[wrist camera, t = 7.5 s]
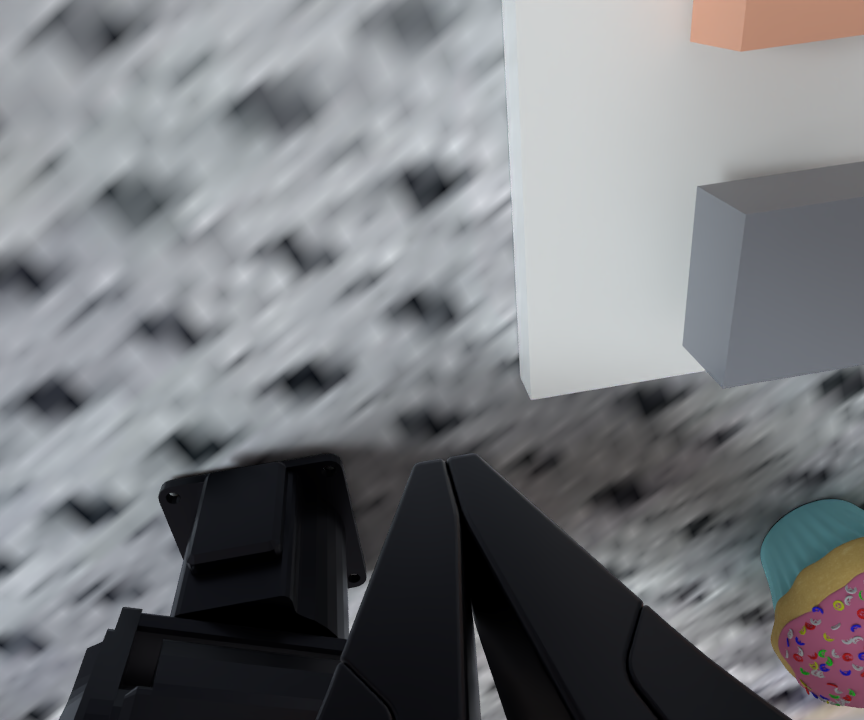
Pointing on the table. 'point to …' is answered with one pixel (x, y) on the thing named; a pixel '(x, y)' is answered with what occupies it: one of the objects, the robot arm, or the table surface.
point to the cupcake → (819, 598)
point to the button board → (643, 170)
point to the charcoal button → (777, 275)
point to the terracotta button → (773, 22)
